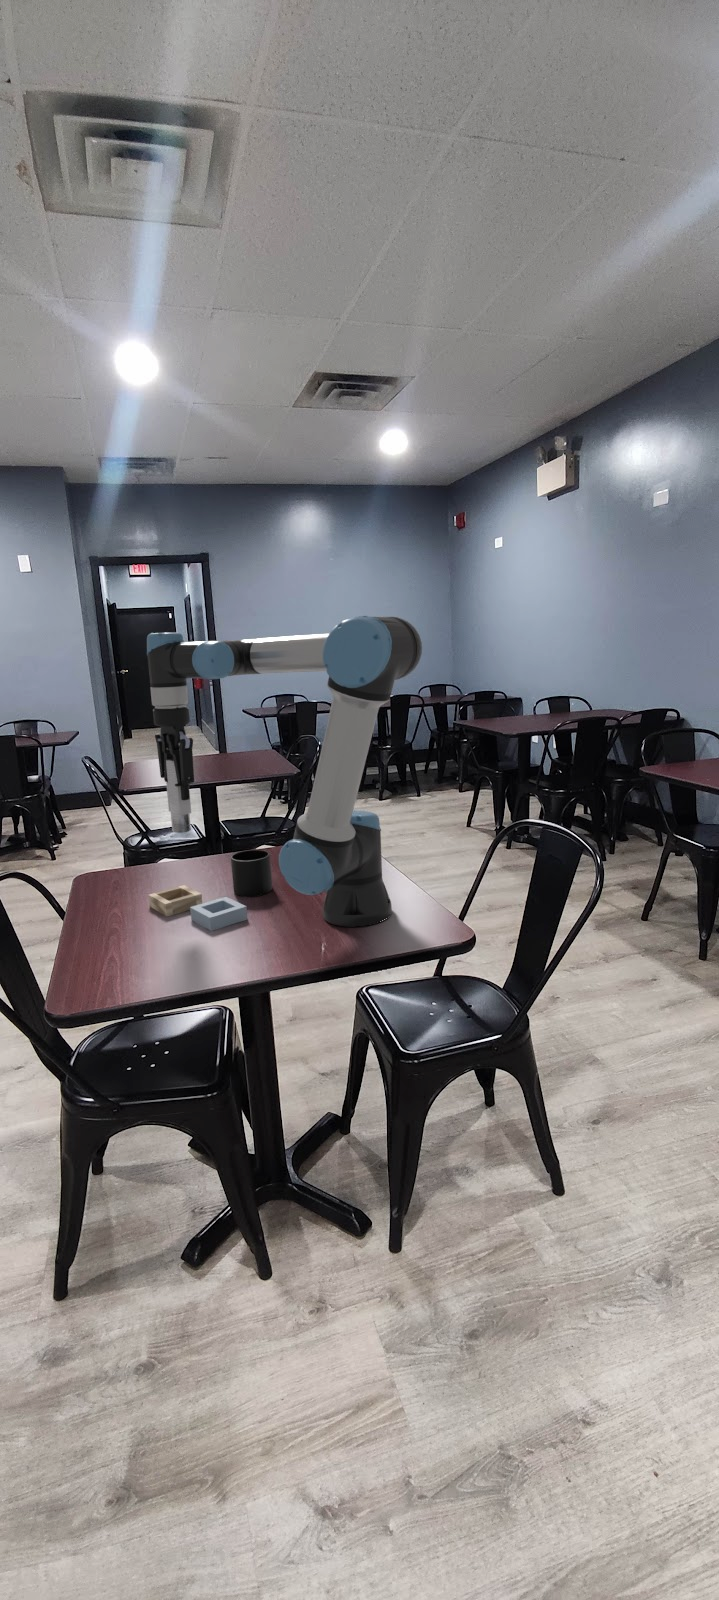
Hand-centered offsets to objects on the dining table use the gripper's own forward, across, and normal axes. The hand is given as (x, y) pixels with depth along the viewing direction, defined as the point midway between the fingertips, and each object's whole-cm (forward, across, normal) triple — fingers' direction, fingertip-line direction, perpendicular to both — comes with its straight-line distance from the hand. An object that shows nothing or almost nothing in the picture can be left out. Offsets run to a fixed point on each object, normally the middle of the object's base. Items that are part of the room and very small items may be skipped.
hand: (180, 811), depth 160 cm
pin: (+4, 0, 0) cm, 4 cm away
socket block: (+23, -10, -2) cm, 25 cm away
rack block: (+24, +5, +1) cm, 24 cm away
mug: (+24, +2, -18) cm, 30 cm away
